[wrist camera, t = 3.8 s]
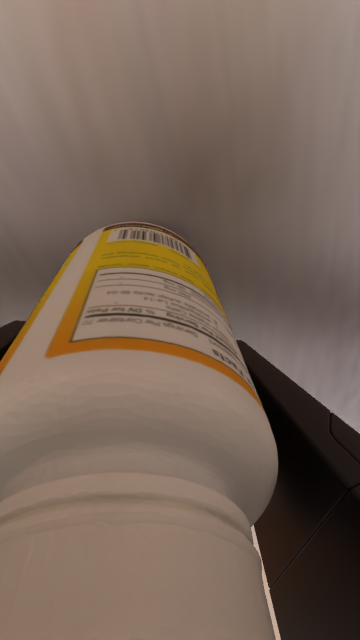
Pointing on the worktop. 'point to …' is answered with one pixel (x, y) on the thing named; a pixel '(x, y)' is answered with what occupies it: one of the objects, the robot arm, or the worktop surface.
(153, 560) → the supplement bottle
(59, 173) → the worktop surface
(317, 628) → the robot arm
